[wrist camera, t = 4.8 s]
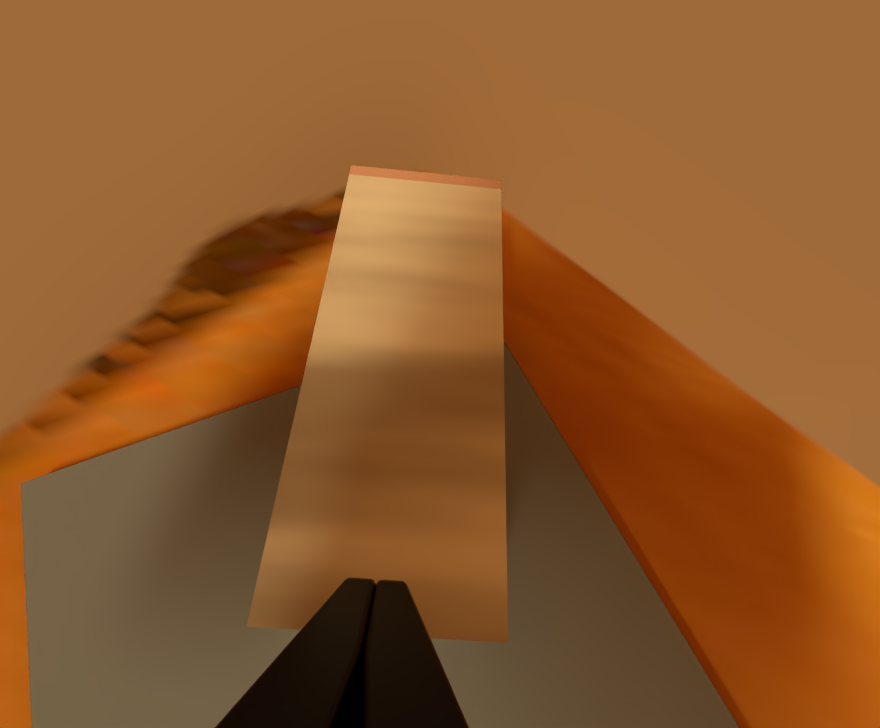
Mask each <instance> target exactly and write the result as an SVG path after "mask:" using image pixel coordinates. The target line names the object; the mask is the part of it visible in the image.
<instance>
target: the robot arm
mask: <svg viewBox="0 0 880 728" xmlns="http://www.w3.org/2000/svg"><path fill="white" fill-rule="evenodd" d="M215 728H469V726H468V724H467V722H466V719H465V717H464V715H463V712H462V710H461V708H460V706H459V703H458V701H457V699H456V696H455V694H454V692H453V689H452V687H451V685H450V682H449V680H448V678H447V675H446V673H445V671H444V669H443V666H442V664H441V662H440V659H439V657H438V655H437V652H436V650H435V648H434V645H433V643H432V641H431V638H430V636H429V634H428V632H427V629H426V627H425V625H424V622H423V620H422V618H421V615H420V613H419V611H418V608H417V606H416V604H415V601H414V599H413V597H412V595H411V592H410V590H409V588H408V586H407V584H406V583H405V582H404V581H398V580H383V579H382V580H379V581H378V582H377V583H375V581H374V580H373V579H368V578H353V577H350V578H347V579H345V580H344V581H343V582H342V584H341V585H340V586H339V587H338V588H337V589H336V590H335V591H334V593H333V594H332V595H331V596H330V597H329V598H328V599H327V601H326V602H325V603H324V604H323V605H322V606H321V607H320V609H319V610H318V611H317V612H316V613H315V614H314V615H313V616H312V618H311V619H310V620H309V621H308V622H307V623H306V624H305V626H304V627H303V628H302V629H301V630H300V631H299V632H298V634H297V635H296V636H295V637H294V638H293V639H292V640H291V641H290V643H289V644H288V645H287V646H286V647H285V648H284V649H283V651H282V652H281V653H280V654H279V655H278V656H277V657H276V659H275V660H274V661H273V662H272V663H271V664H270V665H269V666H268V668H267V669H266V670H265V671H264V672H263V673H262V674H261V676H260V677H259V678H258V679H257V680H256V681H255V682H254V684H253V685H252V686H251V687H250V688H249V689H248V690H247V691H246V693H245V694H244V695H243V696H242V697H241V698H240V699H239V701H238V702H237V703H236V704H235V705H234V706H233V707H232V708H231V710H230V711H229V712H228V713H227V714H226V715H225V716H224V718H223V719H222V720H221V721H220V722H219V723H218V724H217V726H216V727H215Z"/></svg>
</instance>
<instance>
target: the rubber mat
mask: <svg viewBox="0 0 880 728" xmlns="http://www.w3.org/2000/svg"><path fill="white" fill-rule="evenodd" d="M300 389H301V386H298V387H295V388H292V389H289V390H286V391H283V392H281V393H278V394H275V395H272V396H269V397H266V398H263V399H261V400H258V401H255V402H252V403H249V404H246V405H243V406H241V407H238V408H235V409H232V410H229V411H226V412H223V413H221V414H218V415H215V416H212V417H209V418H206V419H203V420H201V421H198V422H195V423H192V424H189V425H186V426H183V427H181V428H178V429H175V430H172V431H169V432H166V433H163V434H161V435H158V436H155V437H152V438H149V439H146V440H143V441H141V442H138V443H135V444H132V445H129V446H126V447H123V448H121V449H118V450H115V451H112V452H109V453H106V454H103V455H101V456H98V457H95V458H92V459H89V460H86V461H83V462H81V463H78V464H75V465H72V466H69V467H66V468H63V469H61V470H58V471H55V472H52V473H49V474H46V475H43V476H41V477H38V478H35V479H32V480H29V481H26V482H23V483H21V499H22V521H23V544H24V566H25V589H26V611H27V634H28V656H29V679H30V701H31V724H32V728H215V727H216V726H217V724H218V723H219V722H220V721H221V720H222V719H223V718H224V716H225V715H226V714H227V713H228V712H229V711H230V710H231V708H232V707H233V706H234V705H235V704H236V703H237V702H238V701H239V699H240V698H241V697H242V696H243V695H244V694H245V693H246V691H247V690H248V689H249V688H250V687H251V686H252V685H253V684H254V682H255V681H256V680H257V679H258V678H259V677H260V676H261V674H262V673H263V672H264V671H265V670H266V669H267V668H268V666H269V665H270V664H271V663H272V662H273V661H274V660H275V659H276V657H277V656H278V655H279V654H280V653H281V652H282V651H283V649H284V648H285V647H286V646H287V645H288V644H289V643H290V641H291V640H292V639H293V638H294V637H295V636H296V635H297V634H298V632H299V631H300V630H293V629H277V628H261V627H246V626H247V622H248V617H249V613H250V608H251V604H252V600H253V595H254V591H255V586H256V582H257V578H258V573H259V569H260V564H261V560H262V556H263V551H264V547H265V543H266V538H267V534H268V529H269V525H270V521H271V516H272V512H273V507H274V503H275V499H276V494H277V490H278V486H279V481H280V477H281V472H282V468H283V464H284V459H285V455H286V450H287V446H288V442H289V437H290V433H291V428H292V424H293V420H294V415H295V411H296V407H297V402H298V398H299V393H300ZM504 401H505V468H506V535H507V602H508V643H499V642H483V641H467V640H451V639H435V638H431V641H432V643H433V645H434V648H435V650H436V652H437V655H438V657H439V659H440V662H441V664H442V666H443V669H444V671H445V673H446V675H447V678H448V680H449V682H450V685H451V687H452V689H453V692H454V694H455V696H456V699H457V701H458V703H459V706H460V708H461V710H462V712H463V715H464V717H465V719H466V722H467V724H468V726H469V728H739V726H738V725H737V723H736V721H735V720H734V718H733V716H732V715H731V713H730V711H729V710H728V708H727V706H726V705H725V703H724V702H723V700H722V698H721V697H720V695H719V693H718V692H717V690H716V688H715V687H714V685H713V683H712V682H711V680H710V679H709V677H708V675H707V674H706V672H705V670H704V669H703V667H702V665H701V664H700V662H699V660H698V659H697V657H696V656H695V654H694V652H693V651H692V649H691V647H690V646H689V644H688V642H687V641H686V639H685V637H684V636H683V634H682V633H681V631H680V629H679V628H678V626H677V624H676V623H675V621H674V619H673V618H672V616H671V614H670V613H669V611H668V610H667V608H666V606H665V605H664V603H663V601H662V600H661V598H660V596H659V595H658V593H657V591H656V590H655V588H654V587H653V585H652V583H651V582H650V580H649V578H648V577H647V575H646V573H645V572H644V570H643V568H642V567H641V565H640V564H639V562H638V560H637V559H636V557H635V555H634V554H633V552H632V550H631V549H630V547H629V545H628V544H627V542H626V541H625V539H624V537H623V536H622V534H621V532H620V531H619V529H618V527H617V526H616V524H615V522H614V521H613V519H612V518H611V516H610V514H609V513H608V511H607V509H606V508H605V506H604V504H603V503H602V501H601V499H600V498H599V496H598V495H597V493H596V491H595V490H594V488H593V486H592V485H591V483H590V481H589V480H588V478H587V476H586V475H585V473H584V472H583V470H582V468H581V467H580V465H579V463H578V462H577V460H576V458H575V457H574V455H573V453H572V452H571V450H570V449H569V447H568V445H567V444H566V442H565V440H564V439H563V437H562V435H561V434H560V432H559V430H558V429H557V427H556V426H555V424H554V422H553V421H552V419H551V417H550V416H549V414H548V412H547V411H546V409H545V407H544V406H543V404H542V403H541V401H540V399H539V398H538V396H537V394H536V393H535V391H534V389H533V388H532V386H531V385H530V383H529V381H528V380H527V378H526V376H525V375H524V373H523V371H522V370H521V368H520V366H519V365H518V363H517V362H516V360H515V358H514V357H513V355H512V353H511V352H510V350H509V348H508V347H507V345H506V343H505V342H504Z"/></svg>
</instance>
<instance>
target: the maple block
mask: <svg viewBox="0 0 880 728" xmlns="http://www.w3.org/2000/svg"><path fill="white" fill-rule="evenodd" d="M501 203H502V202H501V180H494V179H483V178H474V177H463V176H453V175H444V174H434V173H424V172H413V171H403V170H393V169H383V168H372V167H363V166H353V165H352V166H351V170H350V174H349V178H348V183H347V187H346V192H345V196H344V200H343V205H342V209H341V213H340V218H339V222H338V227H337V231H336V235H335V240H334V244H333V249H332V253H331V257H330V262H329V266H328V270H327V275H326V279H325V284H324V288H323V292H322V297H321V301H320V306H319V310H318V314H317V319H316V323H315V328H314V332H313V336H312V341H311V345H310V349H309V354H308V358H307V363H306V367H305V371H304V376H303V380H302V385H301V389H300V393H299V398H298V402H297V407H296V411H295V415H294V420H293V424H292V428H291V433H290V437H289V442H288V446H287V450H286V455H285V459H284V464H283V468H282V472H281V477H280V481H279V486H278V490H277V494H276V499H275V503H274V507H273V512H272V516H271V521H270V525H269V529H268V534H267V538H266V543H265V547H264V551H263V556H262V560H261V564H260V569H259V573H258V578H257V582H256V586H255V591H254V595H253V600H252V604H251V608H250V613H249V617H248V622H247V626H246V627H261V628H277V629H293V630H301V629H302V628H303V627H304V626H305V624H306V623H307V622H308V621H309V620H310V619H311V618H312V616H313V615H314V614H315V613H316V612H317V611H318V610H319V609H320V607H321V606H322V605H323V604H324V603H325V602H326V601H327V599H328V598H329V597H330V596H331V595H332V594H333V593H334V591H335V590H336V589H337V588H338V587H339V586H340V585H341V584H342V582H343V581H344V580H345V579H347V578H350V577H353V578H368V579H373V580H374V581H375V583H377V582H378V581H379V580H382V579H383V580H398V581H404V582H405V583H406V584H407V586H408V588H409V590H410V592H411V595H412V597H413V599H414V601H415V604H416V606H417V608H418V611H419V613H420V615H421V618H422V620H423V622H424V625H425V627H426V629H427V632H428V634H429V636H430V638H435V639H451V640H467V641H483V642H499V643H508V602H507V535H506V468H505V401H504V335H503V268H502V204H501Z"/></svg>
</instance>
